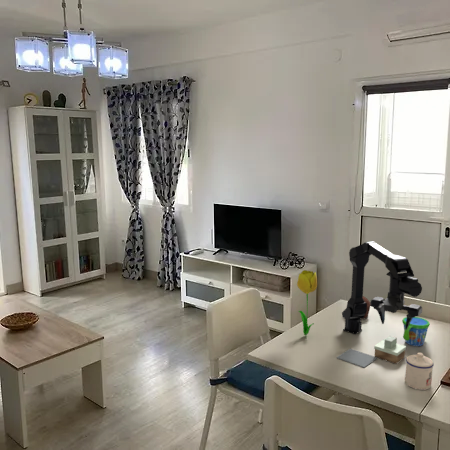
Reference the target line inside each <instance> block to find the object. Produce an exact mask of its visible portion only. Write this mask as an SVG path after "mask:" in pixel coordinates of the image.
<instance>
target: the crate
mask: <svg viewBox="0 0 450 450" xmlns="http://www.w3.org/2000/svg"><path fill="white" fill-rule="evenodd" d="M374 356H375V357H378V358H377V359H380V360H383V361H386V362H389V363H392V364H395V365H397V364H398V363H399V362H401V361H402V360H404V358H405V359H406V350H404V351H403V352H402V353H400V354H399V355H398V356H396V355H392V354H389V353H386V352H383V351H380V350H377V349H374Z"/></svg>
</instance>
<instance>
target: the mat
mask: <svg viewBox="0 0 450 450" xmlns="http://www.w3.org/2000/svg"><path fill="white" fill-rule="evenodd" d="M336 359H339V360H341V361H342V362H343V361H344V362H346V363H350V364H352V365H354V366H355V365H356V366H357V367H361V368H363V369H365V368H367V367H368V366H369V365H370V364H372V363H374V362H375V361H376V360H378V359H379V358H378V357H375V355H371V354H368V353H365V352H362V351H359V350H356V349H353V348H348V349H347V350H346V351H344V352H342V353H341V354H340V355H338V356H336Z"/></svg>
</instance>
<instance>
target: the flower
mask: <svg viewBox="0 0 450 450" xmlns="http://www.w3.org/2000/svg"><path fill="white" fill-rule="evenodd" d="M296 285H297V288H298V289H299V290H300V291H301V292H302V293H303V294H306V312H308V309H309V308H308V305H309V304H308V300H309V294H310V293H313V292H315V291H316V290H317V287H318V277H317V272H316V271H315V272H314V271H311V270H306V269H304V270H302V271H301V272H300V273H299V274H298V277H297V283H296ZM298 313H300V316H301V320H302V321H301V322H302V327H303V329H302V332H303V335H304V336H307V335H309V333H310V329H311V326H312V325H314V324H315V323H314V322H313V323H311V324H310V325H309V324H308V317H307V314H305V313H304V311H302V310H298Z"/></svg>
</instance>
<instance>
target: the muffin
mask: <svg viewBox="0 0 450 450" xmlns="http://www.w3.org/2000/svg"><path fill="white" fill-rule="evenodd" d="M363 300H364V301H365V303H367V312H366V314H365V316H364V318H366V317H367V318H368V317H369V314H370V309H371V306H370V302H371V301H370V300H369V299H368V298H366V296H364V295H363ZM364 318H361V320H365V319H364ZM367 318H366V319H367Z"/></svg>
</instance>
